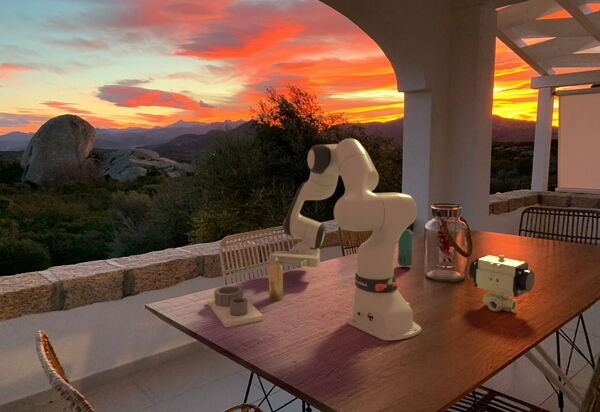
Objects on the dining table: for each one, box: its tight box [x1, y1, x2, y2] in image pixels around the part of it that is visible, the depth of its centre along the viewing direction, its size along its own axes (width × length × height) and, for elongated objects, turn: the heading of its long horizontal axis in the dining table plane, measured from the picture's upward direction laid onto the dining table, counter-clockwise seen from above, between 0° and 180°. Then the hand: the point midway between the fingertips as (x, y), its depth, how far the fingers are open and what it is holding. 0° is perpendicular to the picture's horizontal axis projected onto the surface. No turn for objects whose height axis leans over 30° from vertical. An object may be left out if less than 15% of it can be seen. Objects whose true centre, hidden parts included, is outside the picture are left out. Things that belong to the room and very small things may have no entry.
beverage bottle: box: [397, 224, 414, 267], centre depth 184 cm, size 6×7×20 cm
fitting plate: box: [207, 285, 264, 328], centre depth 137 cm, size 22×12×6 cm, turn 26°
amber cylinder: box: [268, 263, 284, 302], centre depth 149 cm, size 5×5×12 cm
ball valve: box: [468, 254, 536, 312], centre depth 136 cm, size 18×8×18 cm, turn 40°
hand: (287, 264), depth 160 cm, fingers open, 8 cm apart
